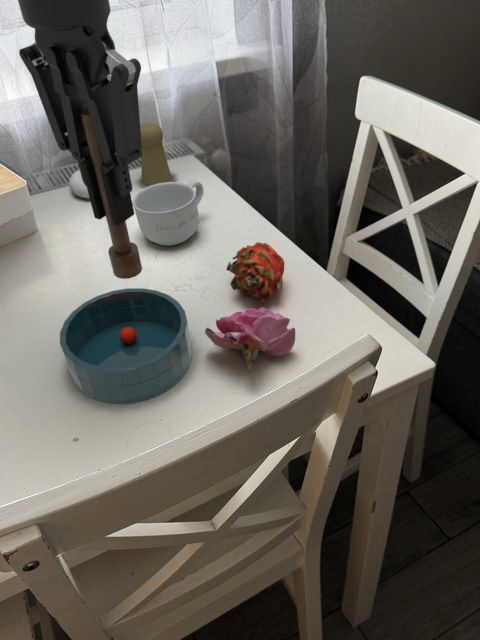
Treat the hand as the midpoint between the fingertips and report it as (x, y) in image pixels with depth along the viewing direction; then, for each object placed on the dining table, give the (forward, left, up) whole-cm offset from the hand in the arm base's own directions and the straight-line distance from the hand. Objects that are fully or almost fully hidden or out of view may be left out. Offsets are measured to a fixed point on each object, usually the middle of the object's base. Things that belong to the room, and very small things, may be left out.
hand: (114, 215), depth 66 cm
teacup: (-17, +29, -23) cm, 41 cm away
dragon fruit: (+4, +22, -23) cm, 32 cm away
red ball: (-5, +2, -21) cm, 22 cm away
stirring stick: (0, 0, -7) cm, 7 cm away
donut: (-41, +34, -23) cm, 58 cm away
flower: (+11, +9, -23) cm, 27 cm away
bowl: (-3, 0, -23) cm, 23 cm away
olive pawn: (-33, +43, -23) cm, 59 cm away
